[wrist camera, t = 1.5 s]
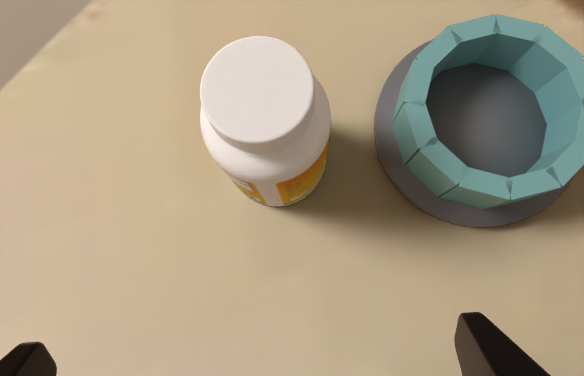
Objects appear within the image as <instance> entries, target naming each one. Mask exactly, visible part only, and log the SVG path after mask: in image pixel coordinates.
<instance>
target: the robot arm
mask: <svg viewBox="0 0 584 376" xmlns="http://www.w3.org/2000/svg"><path fill="white" fill-rule="evenodd" d="M455 348H456V352H457V356H458V360H459V363H460V367H461V371H462V375H463V376H550V375H549V374H548V373H547V372H546V371H545V370H544V369H543V368H542V367H541V366H539V365H538V364H537V363H536V362H535V361H534V360H533V359H532V358H531V357H529V356H528V355H527V354H526V353H525V352H524V351H523V350H522V349H521V348H520V347H518V346H517V345H516V344H515V343H514V342H513V341H512V340H511V339H510V338H509V337H507V336H506V335H505V334H504V333H503V332H502V331H501V330H500V329H499V328H498V327H496V326H495V325H494V324H493V323H492V322H491V321H490V320H489V319H488V318H487V317H485V316H484V315H483V314H481V313H479V312H470V313H462V314H460V316H459V318H458V323H457V328H456V333H455ZM56 373H57V367H56V363H55V361H54V360H53V358H52V357H51V355H50V354H49V352H48V350H47V349H46V347H45V346H44V344H43V343H41V342H26V343H21V344H19V345H18V346H16V347H15V348H14V349H13V350H12V351H10V352H9V353H8V354H7V355H6V356H5V357H3V358H2V359H1V360H0V376H56Z"/></svg>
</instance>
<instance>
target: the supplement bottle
mask: <svg viewBox="0 0 584 376" xmlns="http://www.w3.org/2000/svg"><path fill="white" fill-rule="evenodd" d="M200 99H201V104H202V106H201V112H200V126H201V132H202V136H203V139H204V142H205V144H206V146H207V149H208V151H209V152H210V154H211V156H212V157H213V159H214V160H215V161H216V163H217V164H218V165H219V166H220V167H221V168H222V169H223V170H224V172H225V173H226V174H227V175H228V177H229V178H230V179H231V180H232V181H233V182H234V183H235V185H236V186H237V187H238V188H239V189H240V190H241V191H242V192H243V193H244V194H245V195H246V196H247V197H249V198H250V199H252V200H254V201H256V202H258V203H260V204H263V205H268V206H286V205H290V204H293V203H296V202H298V201H300V200H302V199H303V198H305V197H306V196H308V195H309V194H310V193H311V192H312V191H313V190H314V189H315V188H316V187H317V185H318V184H319V182H320V180H321V178H322V176H323V173H324V170H325V165H326V159H327V151H328V144H329V138H330V131H331V111H330V105H329V101H328V99H327V96H326V94H325V91H324V89H323V87H322V86H321V84H320V82H319V81H318V80H317V79H316V77H315V76H314V75H313V74H312V71H311V68H310V66H309V64H308V63H307V61H306V59H305V58H304V57H303V56H302V54H301V53H300V52H299V51H298V50H297V49H295V48H294V47H293V46H291V45H290V44H288V43H286V42H284V41H282V40H279V39H276V38H273V37H266V36H252V37H246V38H242V39H239V40H236V41H234V42H232V43H230V44H228V45H226V46H225V47H223V48H222V49H221V50H220V51H219V52H217V53H216V54H215V55H214V57H213V58H212V59H211V60H210V62H209V63H208V65H207V67H206V68H205V71H204V73H203V76H202V80H201V84H200Z"/></svg>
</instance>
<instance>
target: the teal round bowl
mask: <svg viewBox="0 0 584 376" xmlns="http://www.w3.org/2000/svg"><path fill="white" fill-rule="evenodd" d="M583 57H584V56H583V55H582V54H581V53H579V52H578V51H577V50H576V49H574V48H573V47H572V46H571V45H569V44H568V43H567V42H566V41H564V40H563V39H562V38H561V37H559V36H558V35H557V34H556V33H554V32H553V31H552V30H551V29H549V28H548V27H547V26H545V27H544V25H543V24H538V23H534V22H529V21H525V20H520V19H516V18H512V17H507V16H503V15H498V14H497V15H496V16H495V14H493V15H489V16H485V17H481V18H477V19H473V20H469V21H465V22H461V23H457V24H453V25H449V27H448V26H447V27H446V28H445V29H444V30H443V31H442V32H441V33H440V34H439V35H438V36H437V37H436V38H435V39H433V40H431V41H429V42H427V43H425V44H423V45H421V46H420V47H418V48H416V49H415V50H413V51H412V52H411V53H409V54H408V55H407V56H406V57H405V58H403V59H402V61H401V62H400V63H399V64H398V65H397V66H396V67H395V68H394V70H393V71H392V73H391V74H390V76H389V77H388V79H387V81H386V83H385V85H384V87H383V89H382V91H381V94H380V97H379V100H378V103H377V106H376V111H375V116H374V137H375V144H376V148H377V153H378V155H379V158H380V161H381V163H382V166H383V168H384V170H385V171H386V173H387V175H388V177H389V178H390V180H391V181H392V183H393V184H394V185H395V187H396V188H397V189H398V190H399V191H400V192H401V193H402V194H403V196H404V197H405V198H407V199H408V200H409V201H410V202H411V203H413V204H414V205H415V206H416V207H418V208H419V209H421V210H423V211H424V212H426V213H427V214H429V215H431V216H434V217H436V218H438V219H440V220H443V221H446V222H449V223H452V224H456V225H461V226H466V227H479V228H480V227H495V226H500V225H506V224H510V223H514V222H517V221H520V220H523V219H526V218H528V217H530V216H532V215H534V214H537V213H539V212H540V211H542V210H543V209H545V208H546V207H547V206H549V205H550V204H551V203H552V202H554V201H555V200H556V199H557V198H558V197H559V196H560V195H561V194H562V192H563V191H564V190H565V189H566V188H567V186H568V185H569V183H570V181H571V180H572V178H573V176H574V175H575V173H576V172H577V171H578V170H579V169H580V168H581V167H582V166H583V165H584V59H582V58H583Z"/></svg>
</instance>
